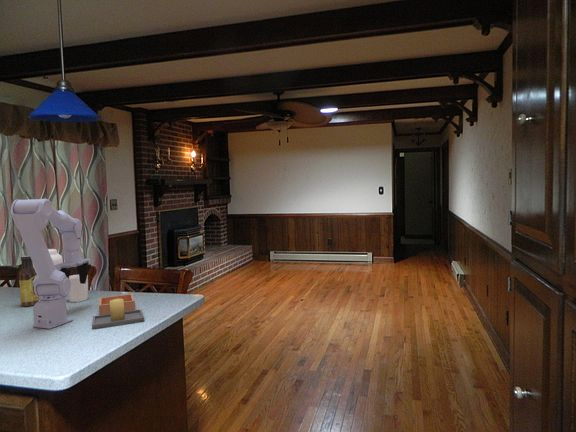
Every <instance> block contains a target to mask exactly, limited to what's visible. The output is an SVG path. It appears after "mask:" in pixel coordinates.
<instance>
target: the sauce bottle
mask: <svg viewBox="0 0 576 432" xmlns="http://www.w3.org/2000/svg"><path fill="white" fill-rule="evenodd" d="M20 261H21V269H20V271H19V274H18V277H19V280H18V283H19V294H20V305H21V306H22V307H32V306H33V307H34V305H35V304H36V303H37V302H39V301H40V299H39V297H37V296H36V294H35V292H34V285H33V280H34V278H35V277H36V276H37V273H36V271H35V269H34V267H33V262H32V259H31V257H30V255H23V256H20Z"/></svg>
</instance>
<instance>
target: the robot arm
mask: <svg viewBox="0 0 576 432" xmlns="http://www.w3.org/2000/svg"><path fill="white" fill-rule="evenodd" d="M10 216H11V218H12V220H13V223H14V226H15V227H16V229H17V230H19V234H20V236H21V239H22V241H23V243H24V246H25V248H26V250H27V252H28V256H30V257H31V259H32V262H33V264H34V266H35V269H36V271H37V273H38V275H37V276H36V277H35V278H34V280H33V285H34V292H35V294H36V296H37V297H39V302H37V303H36V304H35V305H33V308H32V311H33V325H32V327H33V328H40V329H49V330H50V329H53V328H55V327H59V326H60V325H64V324H66V323H69V322H72V321H74V318H70V317H68V312H67V310H68V309H67V298H66V297H67V296H69V292H70V290H71V282H70V280H69V276H71V269H69V268H75V267H76V269H77V272H78V275H79V279H80V284H85V283H86V279H87V275H88V273H89V272H90V270H91V268H92V264H91V258H82V250H81V249H82V248H81V247H82V246H81V238H82V230H83V223H82V220H81V219H79V218H78V217H75V218H74V217H72V216H71V215H69V214H68V213H66V211H65V210H64V209H60V210H59V209H58V210H56V209H55V208H54V207H53V205H52V201H51V200H49V199H48V198H41V199H40V198H37V199H19V198H18V199H15V200H14V201H13V202H12V203H11V206H10ZM49 222H50V224H51V225H53V226H54V227H55V228H57V229H58V232H59V234H61V235H62V246H63V258H64V259H63V263H60V264H57V265H54V263H53V261H52V258H51V256H50V253H49V251H48V249H49V248H48V246H47V244H46V241H45V239H44V237H43V234H42V231H41V230H43V229H45V228H47V225H48V223H49ZM88 276H89V275H88Z"/></svg>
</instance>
